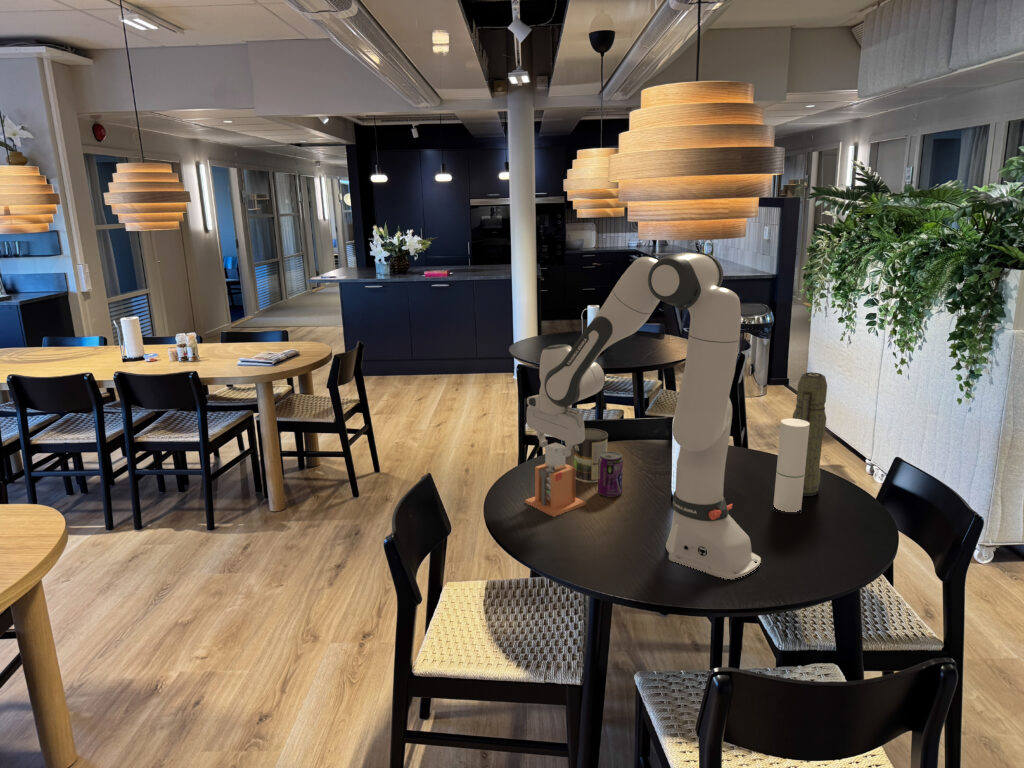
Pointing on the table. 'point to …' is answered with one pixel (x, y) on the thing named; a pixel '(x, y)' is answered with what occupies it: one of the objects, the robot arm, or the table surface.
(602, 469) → the beverage can
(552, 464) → the column
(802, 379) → the thermos
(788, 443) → the cylindrical container
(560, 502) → the stand base
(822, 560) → the table surface
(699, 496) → the robot arm
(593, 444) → the coffee can
